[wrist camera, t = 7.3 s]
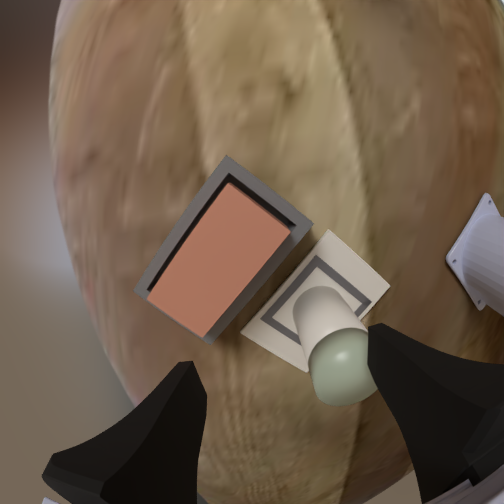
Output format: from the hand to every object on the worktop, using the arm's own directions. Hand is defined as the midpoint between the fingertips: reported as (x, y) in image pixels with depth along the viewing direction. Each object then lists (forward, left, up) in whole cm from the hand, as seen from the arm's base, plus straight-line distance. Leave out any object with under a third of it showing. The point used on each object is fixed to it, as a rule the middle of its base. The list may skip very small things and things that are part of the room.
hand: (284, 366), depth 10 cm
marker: (-4, 0, -9) cm, 10 cm away
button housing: (+4, 0, -10) cm, 10 cm away
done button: (+4, 0, -7) cm, 8 cm away
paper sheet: (-4, 0, -10) cm, 10 cm away
